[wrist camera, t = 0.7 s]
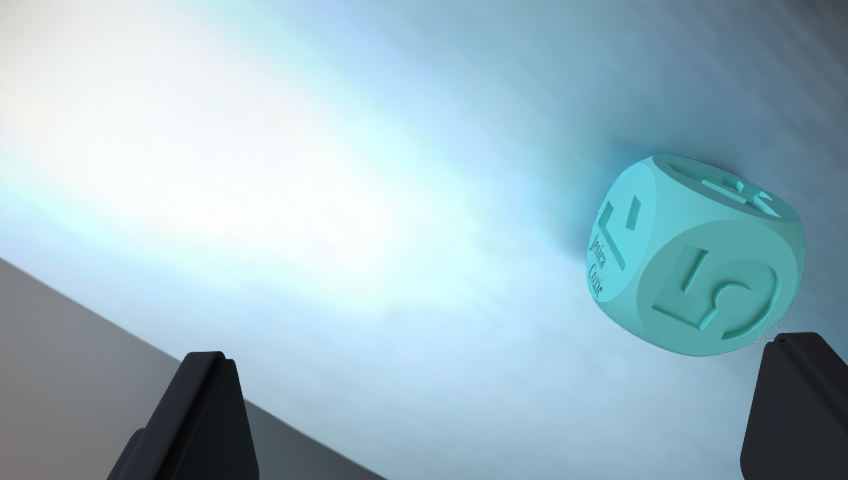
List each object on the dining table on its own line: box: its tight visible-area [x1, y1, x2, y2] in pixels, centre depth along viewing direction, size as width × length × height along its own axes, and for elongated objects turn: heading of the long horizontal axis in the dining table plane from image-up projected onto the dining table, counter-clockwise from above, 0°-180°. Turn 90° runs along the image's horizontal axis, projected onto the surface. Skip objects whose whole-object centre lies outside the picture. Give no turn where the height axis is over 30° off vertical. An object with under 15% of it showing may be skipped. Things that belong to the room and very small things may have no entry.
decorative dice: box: [586, 154, 806, 357], centre depth 35 cm, size 8×8×8 cm
